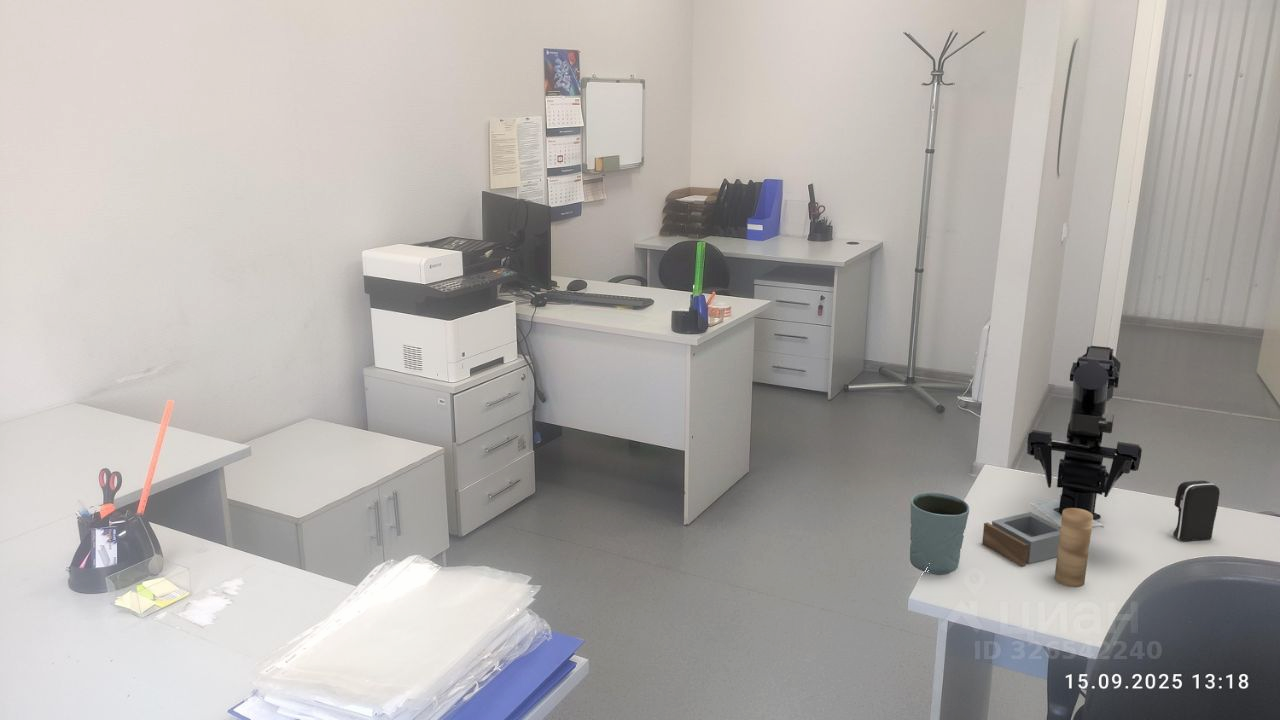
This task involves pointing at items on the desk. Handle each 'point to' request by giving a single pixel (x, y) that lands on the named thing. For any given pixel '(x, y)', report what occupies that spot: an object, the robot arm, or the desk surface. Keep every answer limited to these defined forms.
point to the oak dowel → (1073, 547)
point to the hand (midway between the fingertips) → (1077, 491)
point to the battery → (1196, 510)
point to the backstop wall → (1005, 544)
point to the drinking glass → (937, 531)
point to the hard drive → (1048, 510)
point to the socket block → (1032, 535)
